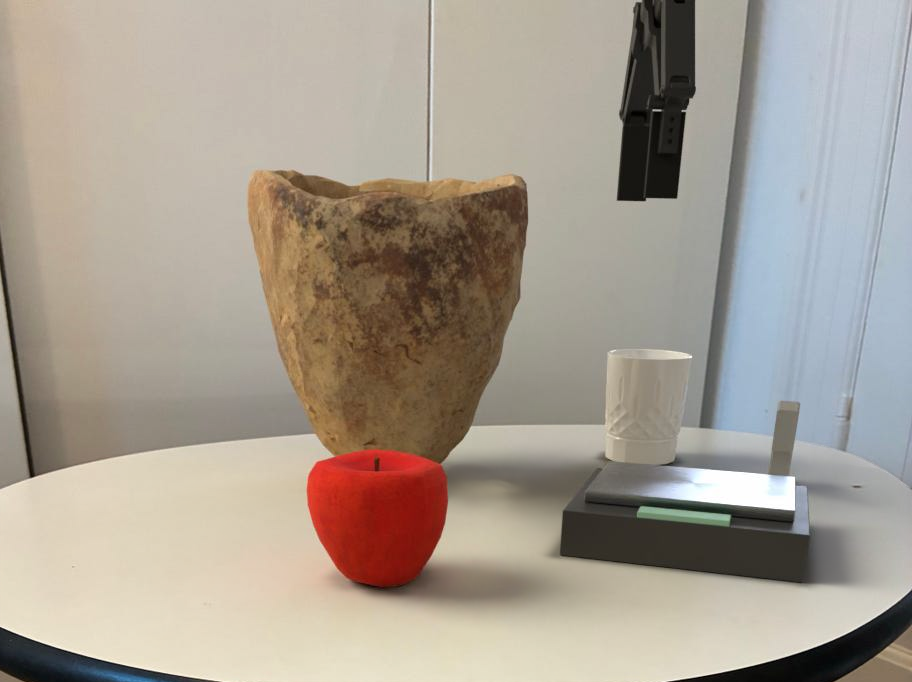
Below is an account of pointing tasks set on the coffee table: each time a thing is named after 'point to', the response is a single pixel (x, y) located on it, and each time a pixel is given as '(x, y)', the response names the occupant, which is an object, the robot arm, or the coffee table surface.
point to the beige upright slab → (784, 438)
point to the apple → (378, 513)
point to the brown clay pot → (389, 300)
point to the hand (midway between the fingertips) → (644, 200)
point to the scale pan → (695, 490)
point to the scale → (688, 538)
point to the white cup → (645, 404)
